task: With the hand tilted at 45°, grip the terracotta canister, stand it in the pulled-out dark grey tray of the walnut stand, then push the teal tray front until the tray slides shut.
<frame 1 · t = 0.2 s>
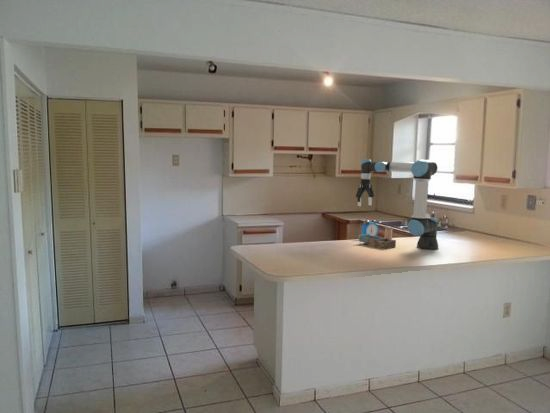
hand: (364, 205, 364), 27 cm above the counter, tool pointing down, fingers open, 13 cm apart
tray: (372, 239, 347), point 4 cm above the counter, slide at 7.0 cm
stand: (380, 246, 342), on the counter
alarm clock: (369, 238, 376), on the counter
canister: (388, 242, 358), on the counter
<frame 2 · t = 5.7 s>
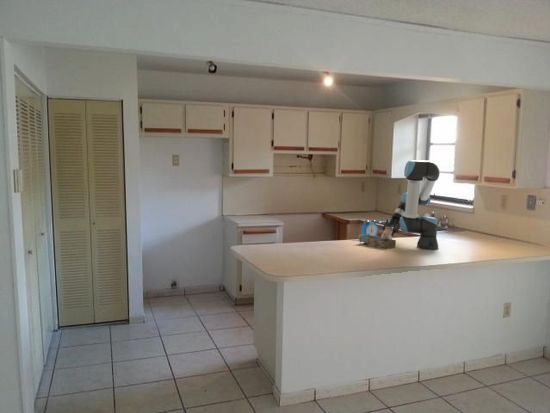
hand: (385, 237, 356), 4 cm above the counter, tool tilted 45°, fingers closed on canister, 5 cm apart
canister: (388, 242, 358), on the counter, touching gripper
everything else where it was.
when the fingers open (8 cm above the counter, at t = 11.6 s): canister drops 2 cm, resting on tray.
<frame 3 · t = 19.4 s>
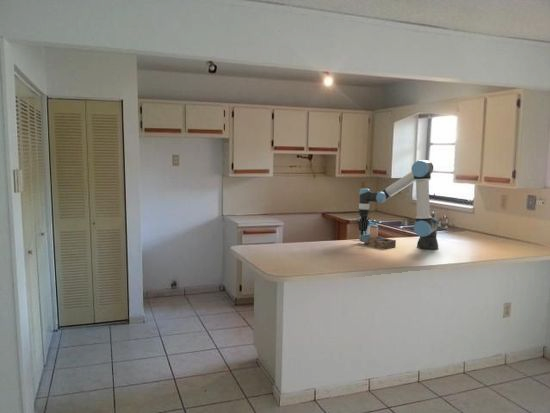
hand: (362, 239, 354), 3 cm above the counter, tool pointing down, fingers closed
tray: (372, 239, 347), point 4 cm above the counter, slide at 6.5 cm, touching canister, gripper
canister: (373, 241, 347), point 3 cm above the counter, touching tray
everything else where it was.
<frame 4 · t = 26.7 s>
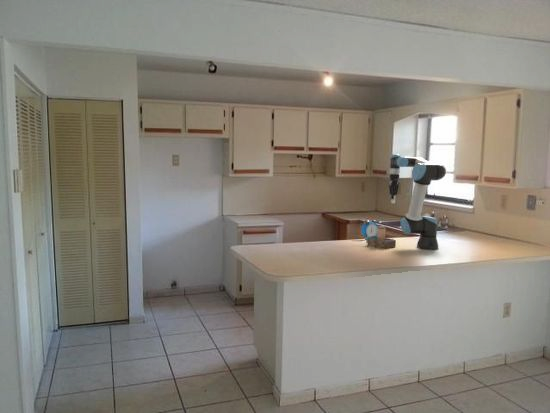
hand: (393, 203, 369), 29 cm above the counter, tool pointing down, fingers closed
tray: (380, 240, 342), point 4 cm above the counter, slide at 0.0 cm, touching canister
canister: (380, 242, 342), point 3 cm above the counter, touching tray
everything else where it was.
at the end: tray slide at 0.0 cm; canister inside the target area on the stand (0.1 cm from its centre), point 2.6 cm above the stand's base; canister tilted 0° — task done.
